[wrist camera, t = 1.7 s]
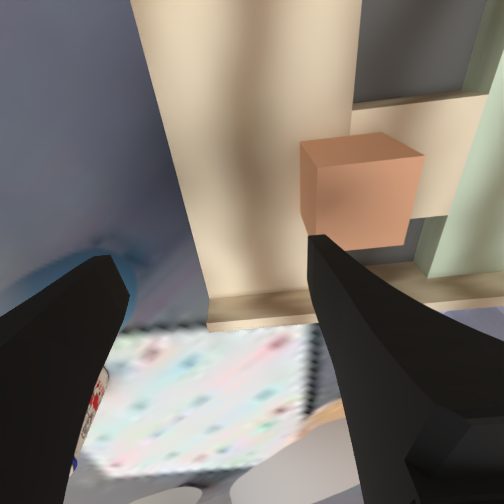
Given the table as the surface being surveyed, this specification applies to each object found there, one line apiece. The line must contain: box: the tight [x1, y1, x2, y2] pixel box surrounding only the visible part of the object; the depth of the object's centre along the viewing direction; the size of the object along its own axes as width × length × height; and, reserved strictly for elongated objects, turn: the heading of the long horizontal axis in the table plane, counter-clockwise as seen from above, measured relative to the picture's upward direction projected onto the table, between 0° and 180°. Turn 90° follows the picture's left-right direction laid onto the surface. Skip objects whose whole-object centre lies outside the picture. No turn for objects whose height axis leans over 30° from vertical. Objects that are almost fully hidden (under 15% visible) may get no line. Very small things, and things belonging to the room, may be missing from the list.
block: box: [300, 132, 425, 251], centre depth 15 cm, size 4×4×4 cm
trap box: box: [130, 0, 504, 332], centre depth 17 cm, size 25×20×5 cm
